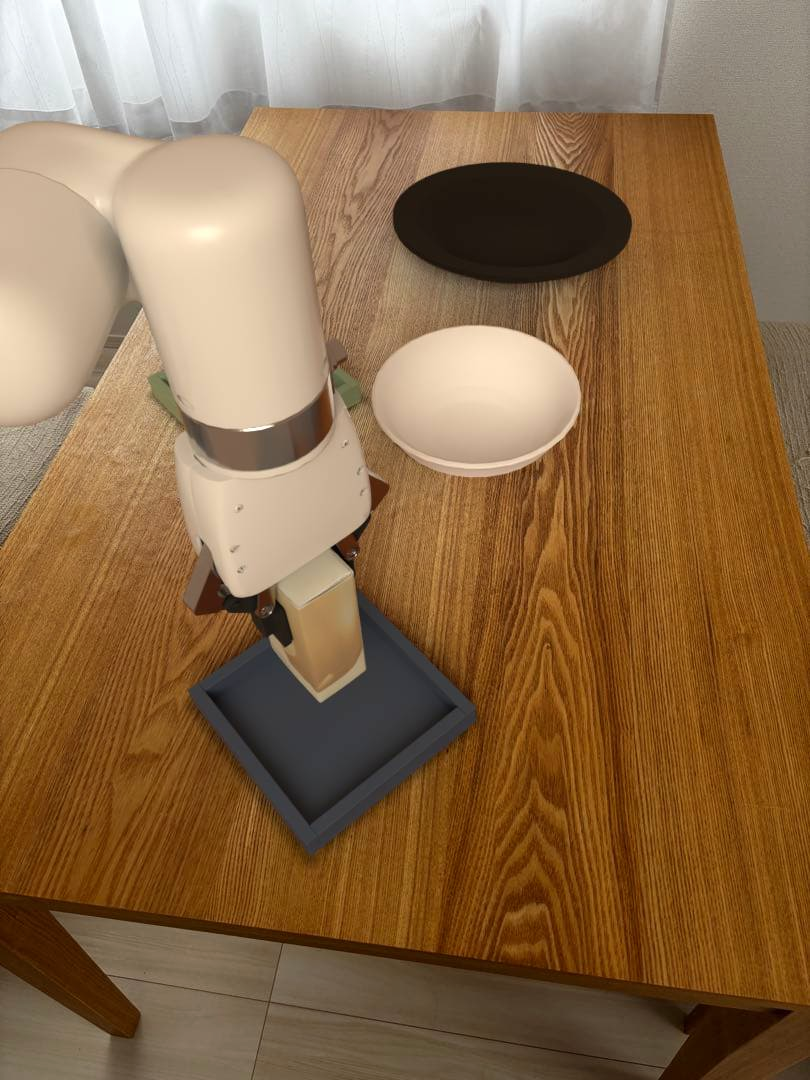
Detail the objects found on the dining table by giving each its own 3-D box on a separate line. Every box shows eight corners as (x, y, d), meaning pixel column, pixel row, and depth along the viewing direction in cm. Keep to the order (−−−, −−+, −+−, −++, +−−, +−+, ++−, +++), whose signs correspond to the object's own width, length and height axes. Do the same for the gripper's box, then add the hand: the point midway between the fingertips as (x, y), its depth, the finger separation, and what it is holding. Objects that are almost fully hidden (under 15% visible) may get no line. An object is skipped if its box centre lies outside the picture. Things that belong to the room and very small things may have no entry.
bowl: (410, 358, 95) (407, 310, 90) (590, 390, 90) (598, 341, 85) (348, 489, 83) (341, 442, 78) (551, 532, 79) (558, 486, 74)
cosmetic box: (270, 648, 63) (236, 545, 53) (318, 615, 65) (293, 509, 55) (322, 708, 60) (296, 610, 50) (371, 671, 61) (355, 570, 52)
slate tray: (310, 856, 62) (306, 844, 60) (194, 704, 70) (187, 689, 68) (475, 722, 68) (476, 707, 66) (351, 595, 76) (348, 579, 74)
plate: (367, 297, 102) (363, 256, 98) (428, 191, 116) (426, 150, 111) (605, 336, 96) (612, 294, 91) (639, 219, 109) (647, 177, 105)
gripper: (346, 298, 48) (372, 511, 62) (68, 446, 42) (168, 645, 56) (436, 363, 44) (441, 574, 58) (145, 537, 38) (231, 726, 52)
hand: (307, 607), depth 57 cm, fingers closed on cosmetic box, 4 cm apart
